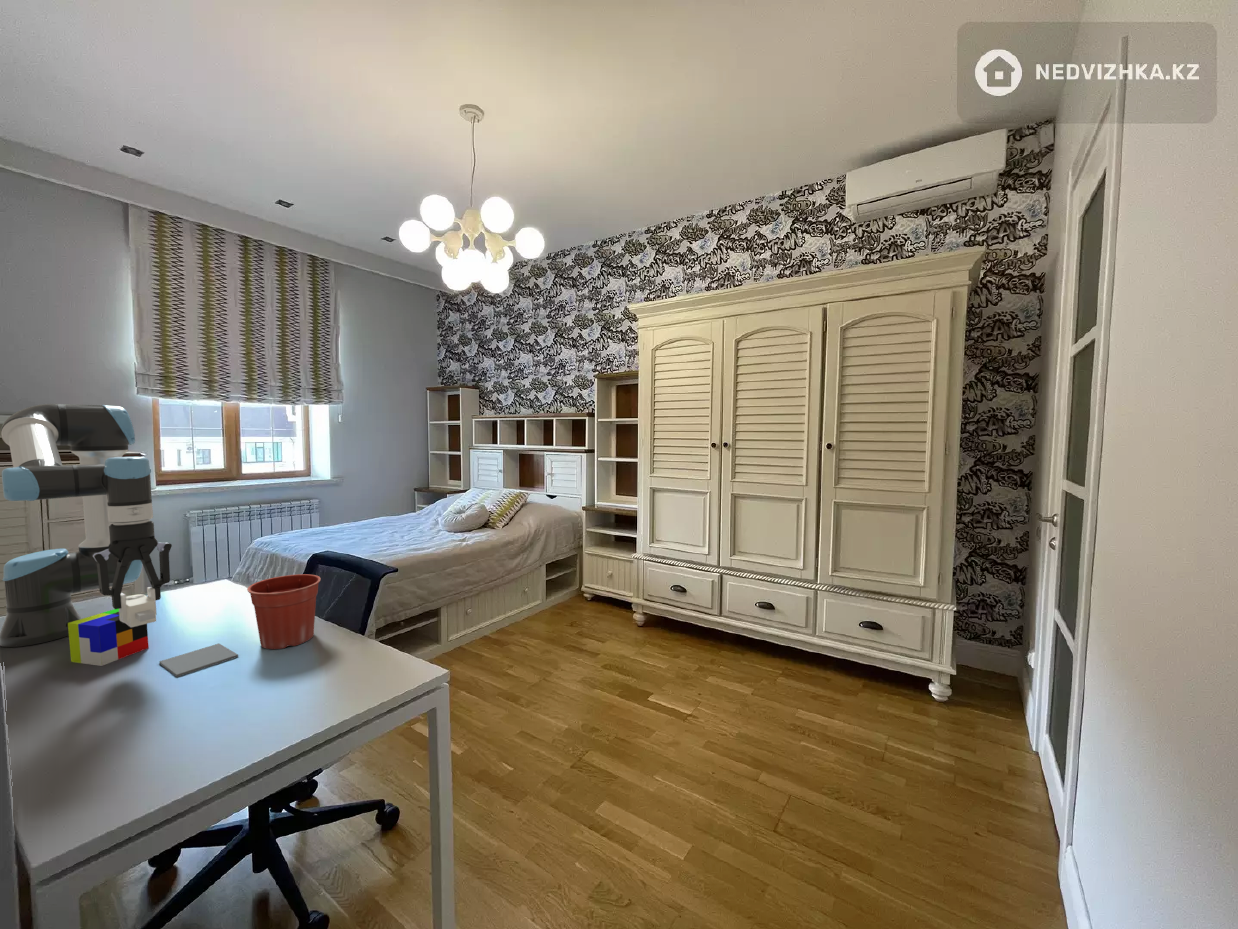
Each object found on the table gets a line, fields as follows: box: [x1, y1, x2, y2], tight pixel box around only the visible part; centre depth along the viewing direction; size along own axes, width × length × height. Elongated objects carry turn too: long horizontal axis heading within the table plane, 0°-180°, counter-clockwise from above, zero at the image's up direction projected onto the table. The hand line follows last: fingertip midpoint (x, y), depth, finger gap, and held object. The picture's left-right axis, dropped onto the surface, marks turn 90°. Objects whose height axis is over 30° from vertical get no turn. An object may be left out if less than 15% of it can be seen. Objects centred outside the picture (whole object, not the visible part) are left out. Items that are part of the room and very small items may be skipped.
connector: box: [124, 593, 157, 627], centre depth 117 cm, size 13×4×5 cm, turn 57°
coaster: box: [158, 643, 239, 678], centre depth 122 cm, size 12×12×1 cm
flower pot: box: [246, 573, 321, 650], centre depth 133 cm, size 16×16×16 cm
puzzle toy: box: [68, 608, 150, 667], centre depth 124 cm, size 10×10×10 cm
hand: (138, 617), depth 117 cm, fingers closed on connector, 4 cm apart
